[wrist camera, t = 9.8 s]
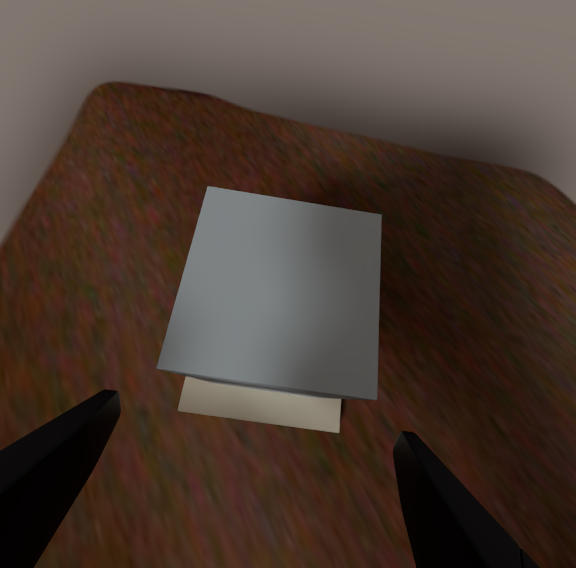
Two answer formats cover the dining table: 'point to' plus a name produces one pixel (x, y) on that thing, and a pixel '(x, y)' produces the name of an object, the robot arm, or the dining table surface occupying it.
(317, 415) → the post board
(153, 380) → the dining table surface
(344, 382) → the grey tall rectangular block
